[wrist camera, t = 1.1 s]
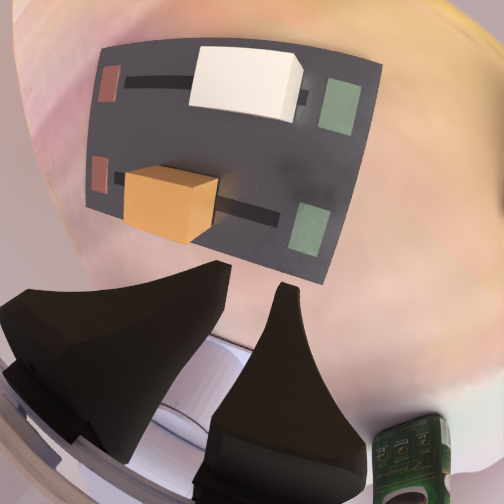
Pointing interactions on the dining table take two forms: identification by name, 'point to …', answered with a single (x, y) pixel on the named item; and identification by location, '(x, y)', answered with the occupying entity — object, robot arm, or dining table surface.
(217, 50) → the switch
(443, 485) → the coffee jar
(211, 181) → the plain orange cube
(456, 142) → the dining table surface
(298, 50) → the breaker panel
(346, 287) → the dining table surface
